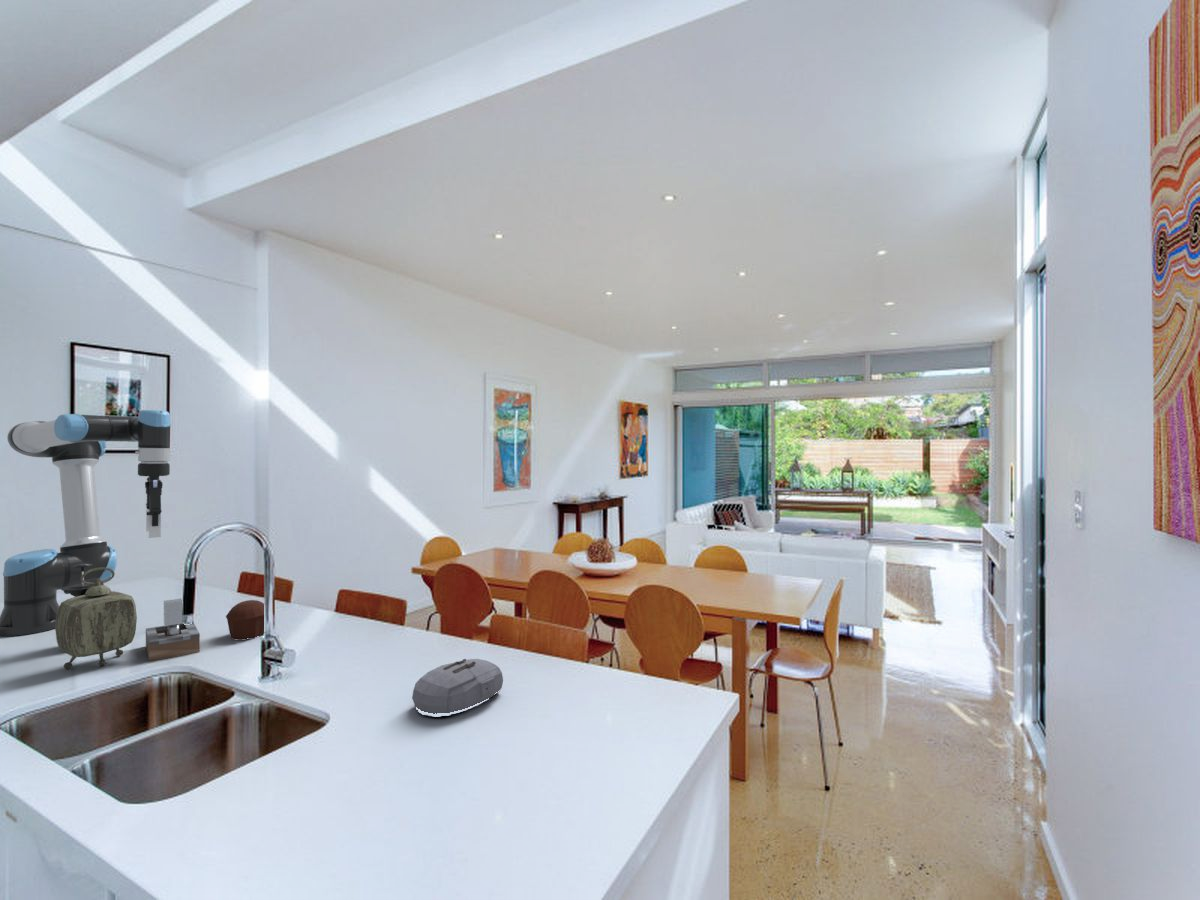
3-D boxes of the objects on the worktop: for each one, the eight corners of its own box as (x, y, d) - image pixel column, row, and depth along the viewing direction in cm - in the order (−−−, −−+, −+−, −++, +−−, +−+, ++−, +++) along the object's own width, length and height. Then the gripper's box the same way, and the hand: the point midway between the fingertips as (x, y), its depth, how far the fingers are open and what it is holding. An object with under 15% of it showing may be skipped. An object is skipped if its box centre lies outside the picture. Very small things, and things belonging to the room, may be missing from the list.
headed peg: (160, 651, 161) (160, 600, 161) (183, 647, 165) (183, 597, 165) (162, 656, 157) (162, 604, 157) (185, 652, 161) (185, 601, 161)
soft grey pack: (467, 680, 144) (396, 710, 127) (467, 646, 143) (396, 671, 127) (511, 695, 135) (442, 729, 119) (512, 659, 135) (442, 688, 118)
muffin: (254, 641, 170) (254, 607, 170) (216, 641, 170) (216, 607, 170) (277, 629, 181) (277, 596, 181) (242, 628, 182) (242, 596, 182)
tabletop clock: (124, 652, 160) (124, 561, 160) (139, 659, 156) (139, 565, 155) (55, 670, 148) (55, 571, 148) (69, 677, 143) (69, 575, 143)
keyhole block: (145, 646, 165) (145, 628, 165) (192, 638, 173) (192, 621, 172) (149, 661, 154) (149, 642, 154) (199, 651, 161) (199, 633, 161)
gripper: (136, 460, 181) (135, 529, 181) (139, 464, 162) (138, 541, 162) (166, 460, 185) (165, 527, 186) (173, 464, 166) (172, 538, 167)
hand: (153, 534), depth 174 cm, fingers open, 13 cm apart
